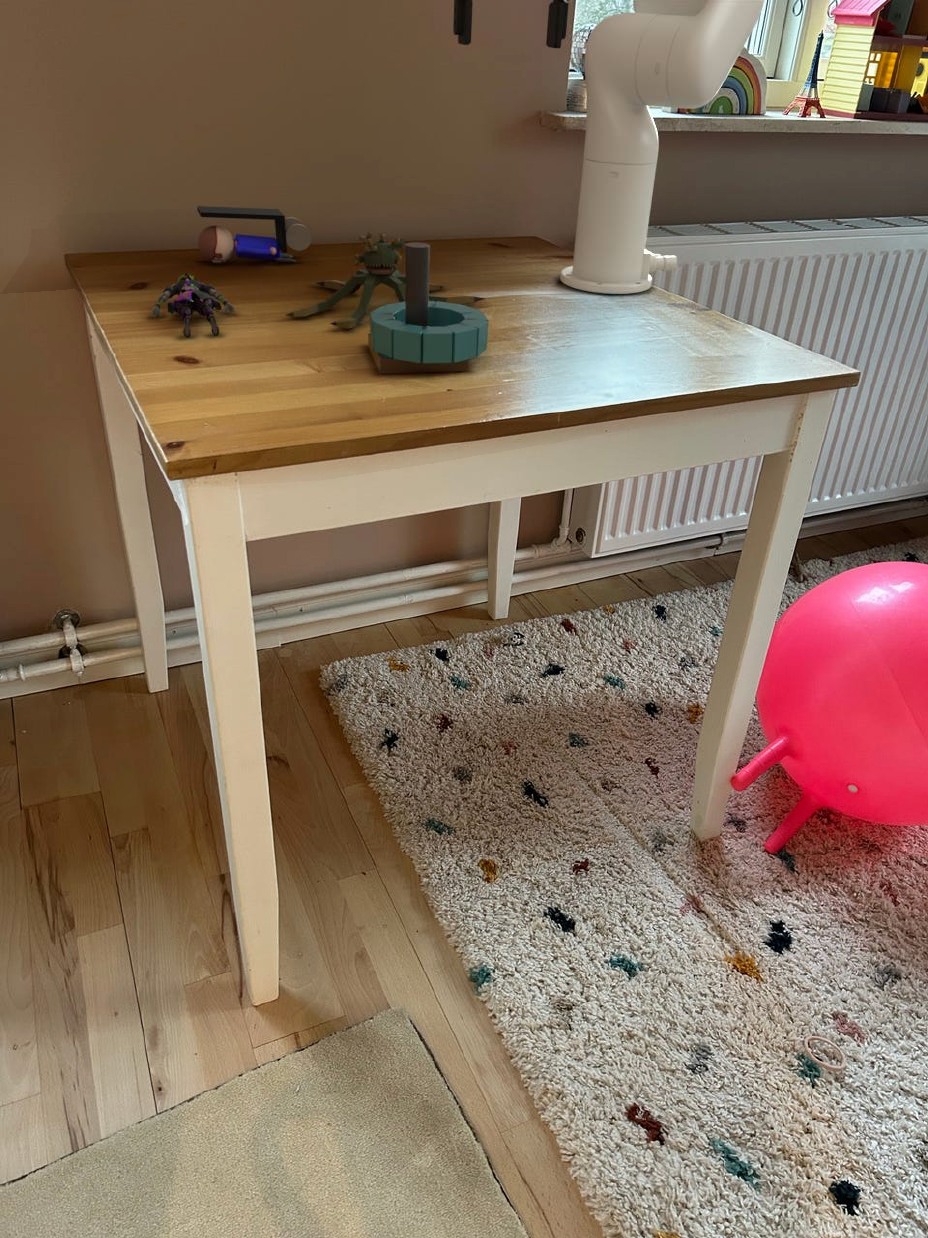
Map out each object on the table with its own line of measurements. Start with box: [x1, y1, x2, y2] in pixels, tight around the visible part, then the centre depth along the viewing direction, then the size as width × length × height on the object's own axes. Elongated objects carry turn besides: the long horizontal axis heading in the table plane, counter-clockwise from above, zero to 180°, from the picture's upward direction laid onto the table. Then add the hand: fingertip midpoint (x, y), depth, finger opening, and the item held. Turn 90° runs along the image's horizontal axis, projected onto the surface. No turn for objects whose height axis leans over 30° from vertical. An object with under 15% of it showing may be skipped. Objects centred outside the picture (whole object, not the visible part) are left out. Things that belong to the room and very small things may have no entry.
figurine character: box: [196, 205, 312, 264], centre depth 133 cm, size 7×8×15 cm
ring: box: [369, 301, 489, 363], centre depth 99 cm, size 12×12×3 cm
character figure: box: [151, 272, 236, 339], centre depth 110 cm, size 9×4×16 cm
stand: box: [367, 241, 468, 375], centre depth 98 cm, size 9×9×12 cm
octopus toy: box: [285, 231, 487, 330], centre depth 115 cm, size 25×20×9 cm
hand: (509, 45), depth 99 cm, fingers open, 9 cm apart
